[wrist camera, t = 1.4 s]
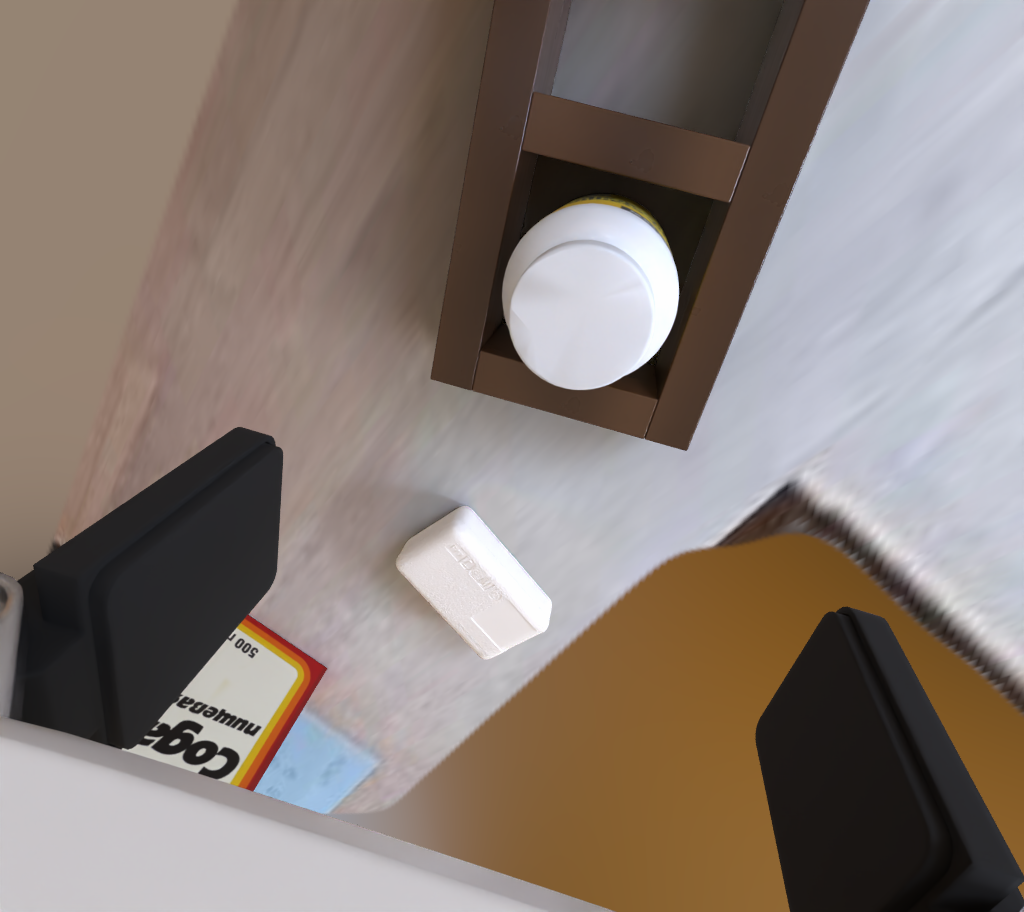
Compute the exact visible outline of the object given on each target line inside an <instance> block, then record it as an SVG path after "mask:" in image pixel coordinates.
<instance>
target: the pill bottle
mask: <svg viewBox="0 0 1024 912" xmlns="http://www.w3.org/2000/svg"><path fill="white" fill-rule="evenodd" d="M678 301H679V282H678V275H677V270H676V266H675V263H674V259H673V256H672V253H671V250H670V246H669V243H668V240H667V237H666V234H665V233H664V231H663V229H662V227H661V225H660V224H659V222H658V220H657V219H656V218H655V217H654V216H653V214H652V213H651V212H650V211H649V210H647V209H646V208H645V207H644V206H642V205H641V204H639V203H638V202H636V201H634V200H632V199H630V198H628V197H625V196H621V195H617V194H611V193H597V194H590V195H586V196H583V197H580V198H577V199H575V200H573V201H571V202H569V203H567V204H565V205H564V206H562V207H560V208H559V209H557V210H556V211H554V212H553V213H551V214H549V215H548V216H546V217H545V218H543V219H542V220H540V221H539V222H538V223H537V224H536V225H534V226H533V227H532V228H531V229H530V230H529V231H528V232H527V233H526V234H525V235H524V237H523V238H522V239H521V240H520V242H519V243H518V245H517V246H516V248H515V250H514V251H513V253H512V255H511V257H510V260H509V262H508V265H507V268H506V271H505V275H504V280H503V287H502V304H503V311H504V316H505V320H506V323H507V326H508V329H509V332H510V337H511V340H512V342H513V345H514V348H515V349H516V351H517V353H518V355H519V357H520V358H521V359H522V361H523V362H524V363H525V365H526V366H527V367H528V368H529V369H530V370H531V371H532V372H533V373H535V374H536V375H537V376H539V377H540V378H541V379H543V380H545V381H547V382H549V383H551V384H553V385H555V386H559V387H562V388H566V389H571V390H589V389H595V388H600V387H603V386H606V385H609V384H611V383H613V382H615V381H617V380H618V379H620V378H622V377H623V376H625V375H627V374H629V373H631V372H633V371H635V370H636V369H638V368H639V367H641V366H642V365H644V364H645V363H646V362H647V361H648V360H649V359H650V358H651V357H652V356H653V355H654V354H655V353H656V352H657V351H658V350H659V349H660V347H661V346H662V345H663V343H664V341H665V340H666V338H667V336H668V334H669V333H670V330H671V328H672V326H673V323H674V320H675V317H676V313H677V308H678Z"/></svg>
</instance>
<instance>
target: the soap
mask: <svg viewBox="0 0 1024 912" xmlns="http://www.w3.org/2000/svg"><path fill="white" fill-rule="evenodd" d="M396 567H397V569H398V570H399V571H400V573H401V574H402V575H403V576H404V577H405V578H406V579H407V580H408V581H409V582H410V583H411V584H412V585H413V586H414V588H415V589H416V590H417V591H418V592H419V593H420V594H421V595H422V596H423V597H424V598H425V599H426V600H427V601H428V602H429V603H430V605H431V606H432V607H433V608H434V609H435V610H436V611H437V612H438V613H439V614H440V615H441V616H442V618H444V620H445V621H446V622H447V623H448V624H449V625H450V626H451V627H452V628H453V629H454V630H455V631H456V632H457V633H458V634H459V635H460V636H461V638H462V639H463V640H464V641H465V642H466V643H467V644H468V645H469V646H470V647H471V648H472V649H473V650H474V651H475V652H476V653H477V655H478V656H479V657H481V658H482V659H485V660H486V659H490V658H493V657H495V656H497V655H499V654H501V653H503V652H505V651H506V650H507V649H509V648H511V647H513V646H515V645H517V644H519V643H521V642H523V641H525V640H527V639H530V638H532V637H534V636H536V635H538V634H541V633H543V632H545V631H546V629H547V627H548V625H549V619H550V614H551V608H552V603H551V600H550V599H549V597H548V596H547V595H546V594H545V593H544V591H543V590H542V589H541V588H540V587H539V586H538V584H537V583H536V582H535V581H534V580H533V579H532V578H531V576H530V575H529V574H528V573H527V572H526V571H525V569H524V568H523V567H522V566H521V565H520V564H519V563H518V561H517V560H516V559H515V558H514V557H513V556H512V555H511V553H510V552H509V551H508V550H507V549H506V548H505V546H504V545H503V544H502V543H501V542H500V541H499V540H498V538H497V537H496V536H495V535H494V534H493V533H492V532H491V530H490V529H489V528H488V527H487V526H486V525H485V523H484V522H483V521H482V520H481V519H480V518H479V517H478V515H477V514H476V513H475V512H474V511H473V510H472V509H471V508H470V507H468V506H461V507H459V508H457V509H455V510H454V511H452V512H451V513H449V514H448V515H446V516H445V517H443V518H441V519H440V520H438V521H437V522H435V523H434V524H432V525H431V526H429V527H427V528H426V529H424V530H423V531H421V532H419V533H418V534H416V535H415V536H413V537H412V538H410V539H409V540H408V541H407V542H406V544H405V546H404V547H403V549H402V551H401V552H400V554H399V556H398V557H397V560H396Z"/></svg>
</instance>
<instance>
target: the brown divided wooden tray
mask: <svg viewBox="0 0 1024 912" xmlns="http://www.w3.org/2000/svg"><path fill="white" fill-rule="evenodd" d="M571 1H572V0H495V1H494V7H493V12H492V18H491V24H490V30H489V36H488V42H487V48H486V54H485V60H484V66H483V71H482V77H481V83H480V89H479V95H478V101H477V107H476V113H475V119H474V125H473V131H472V136H471V142H470V148H469V154H468V160H467V166H466V172H465V178H464V184H463V190H462V195H461V201H460V207H459V213H458V219H457V225H456V231H455V237H454V243H453V249H452V255H451V260H450V266H449V272H448V278H447V284H446V290H445V296H444V302H443V308H442V314H441V319H440V325H439V331H438V337H437V343H436V349H435V355H434V361H433V367H432V373H431V379H432V380H436V381H439V382H443V383H446V384H450V385H453V386H457V387H461V388H464V389H468V390H473V391H475V392H479V393H482V394H486V395H490V396H493V397H497V398H500V399H504V400H507V401H511V402H514V403H518V404H522V405H525V406H529V407H532V408H536V409H539V410H543V411H546V412H550V413H554V414H557V415H561V416H564V417H568V418H571V419H575V420H578V421H582V422H586V423H589V424H593V425H596V426H600V427H603V428H607V429H610V430H614V431H617V432H621V433H625V434H628V435H632V436H635V437H639V438H642V439H644V438H645V439H646V440H650V441H653V442H657V443H660V444H664V445H667V446H671V447H674V448H678V449H682V450H685V451H687V450H688V447H689V445H690V442H691V440H692V437H693V435H694V432H695V430H696V428H697V425H698V423H699V420H700V418H701V415H702V413H703V410H704V408H705V405H706V403H707V400H708V398H709V396H710V393H711V391H712V388H713V386H714V383H715V381H716V378H717V376H718V373H719V371H720V368H721V366H722V364H723V361H724V359H725V356H726V354H727V351H728V349H729V346H730V344H731V341H732V339H733V337H734V334H735V332H736V329H737V327H738V324H739V322H740V319H741V317H742V314H743V312H744V309H745V307H746V305H747V302H748V300H749V297H750V295H751V292H752V290H753V287H754V285H755V282H756V280H757V277H758V275H759V273H760V270H761V268H762V265H763V263H764V260H765V258H766V255H767V253H768V250H769V248H770V245H771V243H772V241H773V238H774V236H775V233H776V231H777V228H778V226H779V223H780V221H781V218H782V216H783V214H784V211H785V209H786V206H787V204H788V201H789V199H790V196H791V194H792V191H793V189H794V186H795V184H796V182H797V179H798V177H799V174H800V172H801V169H802V167H803V164H804V162H805V159H806V157H807V154H808V152H809V150H810V147H811V145H812V142H813V140H814V137H815V135H816V132H817V130H818V127H819V125H820V123H821V120H822V118H823V115H824V113H825V110H826V108H827V105H828V103H829V100H830V98H831V95H832V93H833V91H834V88H835V86H836V83H837V81H838V78H839V76H840V73H841V71H842V68H843V66H844V63H845V61H846V59H847V56H848V54H849V51H850V49H851V46H852V44H853V41H854V39H855V36H856V34H857V32H858V29H859V27H860V24H861V22H862V19H863V17H864V14H865V12H866V9H867V7H868V4H869V2H870V0H784V2H783V5H782V8H781V11H780V14H779V16H778V19H777V22H776V25H775V28H774V31H773V34H772V36H771V39H770V42H769V45H768V48H767V51H766V53H765V56H764V59H763V62H762V65H761V68H760V70H759V73H758V76H757V79H756V82H755V85H754V87H753V90H752V93H751V96H750V99H749V102H748V104H747V107H746V110H745V113H744V116H743V119H742V122H741V124H740V127H739V130H738V133H737V136H736V139H735V141H731V140H727V139H723V138H719V137H715V136H711V135H707V134H703V133H699V132H695V131H691V130H687V129H683V128H679V127H675V126H671V125H667V124H663V123H659V122H655V121H651V120H647V119H643V118H639V117H635V116H631V115H627V114H623V113H619V112H615V111H611V110H607V109H603V108H599V107H595V106H591V105H587V104H583V103H579V102H575V101H571V100H567V99H563V98H559V97H555V96H551V93H552V88H553V84H554V79H555V75H556V70H557V65H558V61H559V56H560V52H561V47H562V43H563V38H564V33H565V29H566V24H567V20H568V15H569V10H570V6H571ZM538 155H542V156H546V157H550V158H554V159H558V160H562V161H566V162H570V163H574V164H578V165H582V166H585V167H589V168H593V169H597V170H601V171H605V172H609V173H613V174H617V175H621V176H625V177H628V178H632V179H636V180H640V181H644V182H648V183H652V184H656V185H660V186H664V187H668V188H671V189H675V190H679V191H683V192H687V193H691V194H695V195H699V196H703V197H707V198H711V199H714V201H713V204H712V207H711V210H710V212H709V215H708V218H707V221H706V224H705V227H704V229H703V232H702V235H701V238H700V241H699V244H698V246H697V249H696V252H695V255H694V258H693V261H692V263H691V266H690V269H689V272H688V275H687V278H686V280H685V283H684V286H683V289H682V292H681V295H680V298H679V301H678V308H677V313H676V317H675V320H674V323H673V326H672V328H671V330H670V333H669V334H668V336H667V338H666V340H665V341H664V343H663V346H662V349H661V351H660V354H659V357H658V360H657V363H656V366H654V365H651V364H647V363H645V364H644V365H642V366H641V367H639V368H638V369H636V370H635V371H633V372H631V373H629V374H627V375H625V376H623V377H622V378H620V379H618V380H617V381H615V382H613V383H611V384H609V385H606V386H603V387H600V388H595V389H589V390H571V389H566V388H562V387H559V386H555V385H553V384H551V383H549V382H547V381H545V380H543V379H541V378H540V377H539V376H537V375H536V374H535V373H533V372H532V371H531V370H530V369H529V368H528V367H527V366H526V365H525V363H524V362H523V361H522V359H521V358H520V357H519V355H518V353H517V351H516V349H515V348H514V345H513V342H512V340H511V337H510V332H509V329H508V326H507V325H505V324H501V322H502V318H503V313H504V311H503V304H502V287H503V280H504V275H505V271H506V268H507V265H508V262H509V260H510V257H511V255H512V253H513V251H514V250H515V248H516V246H517V245H518V243H519V240H520V235H521V231H522V226H523V221H524V217H525V212H526V208H527V203H528V198H529V194H530V189H531V185H532V180H533V176H534V171H535V166H536V162H537V157H538Z"/></svg>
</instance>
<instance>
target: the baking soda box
mask: <svg viewBox="0 0 1024 912" xmlns="http://www.w3.org/2000/svg"><path fill="white" fill-rule="evenodd" d="M326 670H327V668H326V667H325V666H323V665H322V664H320V663H319V662H317V661H316V660H314V659H313V658H311V657H310V656H308V655H307V654H305V653H304V652H302V651H301V650H299V649H298V648H296V647H295V646H293V645H292V644H290V643H289V642H287V641H286V640H284V639H283V638H282V637H280V636H279V635H277V634H276V633H274V632H273V631H271V630H270V629H268V628H267V627H265V626H264V625H262V624H261V623H259V622H258V621H256V620H255V619H253V618H252V617H250V616H249V615H247V616H246V617H245V619H244V620H243V621H242V622H241V623H240V625H239V626H238V627H237V628H236V629H235V630H234V632H233V633H232V634H231V635H230V636H229V638H228V639H227V640H226V641H225V642H224V643H223V645H222V646H221V647H220V648H219V649H218V651H217V652H216V653H215V654H214V655H213V656H212V658H211V659H210V660H209V661H208V662H207V664H206V665H205V666H204V667H203V668H202V669H201V671H200V672H199V673H198V674H197V675H196V677H195V678H194V679H193V680H192V681H191V682H190V684H189V685H188V686H187V687H186V688H185V690H184V691H183V692H182V693H181V694H180V695H179V697H178V698H177V699H176V700H175V701H174V703H173V704H172V705H171V706H170V707H169V708H168V710H167V711H166V712H165V713H164V714H163V716H162V717H161V718H160V719H159V720H158V721H157V723H156V724H155V725H154V726H153V727H152V729H151V730H150V731H149V732H148V733H147V734H146V736H145V737H144V738H143V739H142V740H141V741H140V742H139V743H138V744H137V745H136V746H135V747H133V748H132V749H129V750H127V749H124V748H122V750H124V751H127V752H130V753H134V754H137V755H140V756H143V757H147V758H150V759H153V760H157V761H160V762H163V763H166V764H170V765H173V766H176V767H179V768H183V769H186V770H189V771H192V772H195V773H198V774H201V775H204V776H207V777H210V778H213V779H216V780H219V781H222V782H225V783H229V784H232V785H235V786H238V787H241V788H244V789H247V790H250V791H254V789H255V788H256V786H257V784H258V783H259V781H260V779H261V778H262V776H263V774H264V773H265V771H266V769H267V768H268V766H269V764H270V763H271V761H272V759H273V758H274V756H275V754H276V753H277V751H278V749H279V748H280V746H281V744H282V743H283V741H284V740H285V738H286V736H287V735H288V733H289V731H290V730H291V728H292V726H293V725H294V723H295V721H296V720H297V718H298V716H299V715H300V713H301V711H302V710H303V708H304V706H305V705H306V703H307V701H308V700H309V698H310V696H311V695H312V693H313V691H314V690H315V688H316V686H317V685H318V683H319V681H320V680H321V678H322V676H323V675H324V673H325V671H326Z"/></svg>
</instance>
